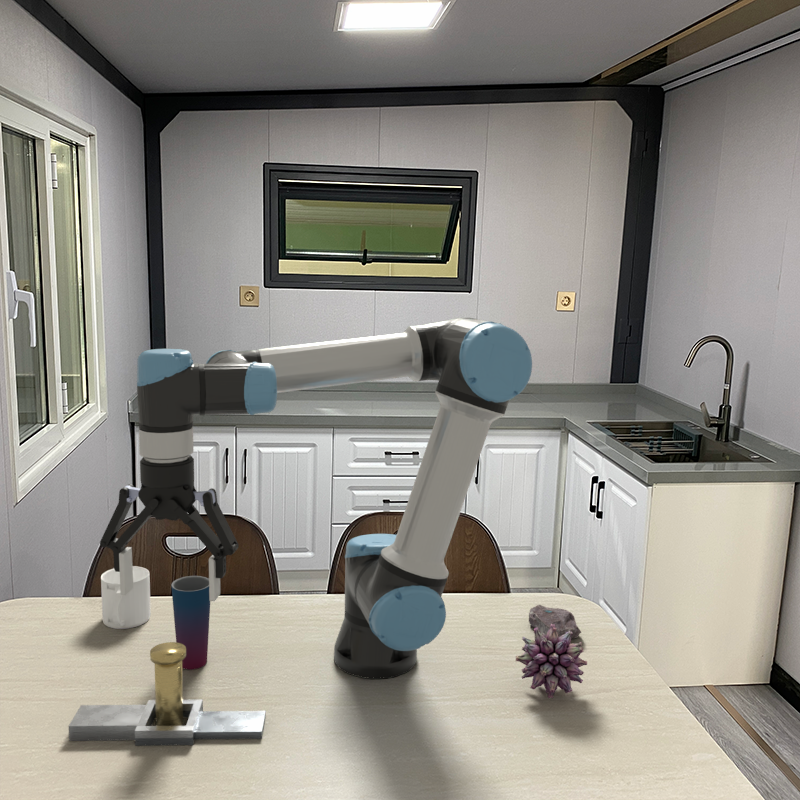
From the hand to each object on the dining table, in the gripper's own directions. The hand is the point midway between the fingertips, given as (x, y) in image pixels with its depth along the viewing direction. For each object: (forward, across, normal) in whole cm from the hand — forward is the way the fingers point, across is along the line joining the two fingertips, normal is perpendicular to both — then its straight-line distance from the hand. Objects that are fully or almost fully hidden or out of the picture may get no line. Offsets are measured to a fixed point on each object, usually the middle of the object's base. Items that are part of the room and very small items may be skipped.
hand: (170, 594), depth 119 cm
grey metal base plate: (+22, 0, +1) cm, 22 cm away
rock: (+23, -62, -42) cm, 78 cm away
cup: (+22, +4, -20) cm, 30 cm away
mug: (+22, +23, -33) cm, 46 cm away
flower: (+22, -59, -19) cm, 66 cm away
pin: (+22, 0, +1) cm, 22 cm away
